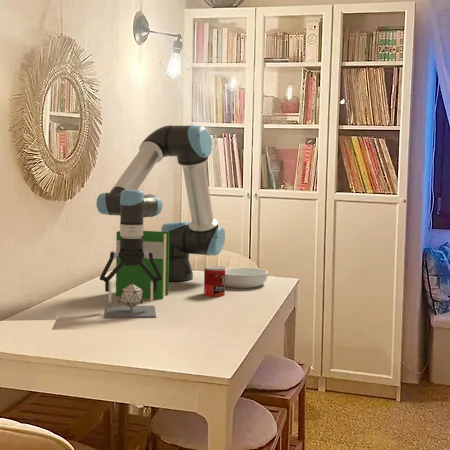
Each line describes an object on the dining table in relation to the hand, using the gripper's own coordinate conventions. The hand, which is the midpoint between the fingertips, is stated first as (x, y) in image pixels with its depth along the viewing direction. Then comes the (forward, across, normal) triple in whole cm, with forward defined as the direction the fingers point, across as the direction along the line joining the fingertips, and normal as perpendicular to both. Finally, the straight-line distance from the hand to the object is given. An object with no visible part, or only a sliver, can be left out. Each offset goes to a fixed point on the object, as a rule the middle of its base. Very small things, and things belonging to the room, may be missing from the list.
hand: (130, 301), depth 234 cm
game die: (+3, 0, 0) cm, 3 cm away
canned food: (+4, +31, +27) cm, 41 cm away
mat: (+4, 0, 0) cm, 4 cm away
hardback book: (+4, +4, +27) cm, 27 cm away
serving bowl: (+4, +44, +45) cm, 63 cm away
